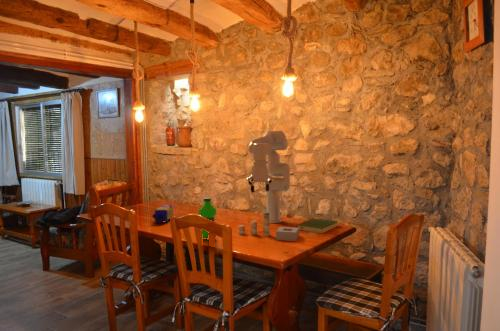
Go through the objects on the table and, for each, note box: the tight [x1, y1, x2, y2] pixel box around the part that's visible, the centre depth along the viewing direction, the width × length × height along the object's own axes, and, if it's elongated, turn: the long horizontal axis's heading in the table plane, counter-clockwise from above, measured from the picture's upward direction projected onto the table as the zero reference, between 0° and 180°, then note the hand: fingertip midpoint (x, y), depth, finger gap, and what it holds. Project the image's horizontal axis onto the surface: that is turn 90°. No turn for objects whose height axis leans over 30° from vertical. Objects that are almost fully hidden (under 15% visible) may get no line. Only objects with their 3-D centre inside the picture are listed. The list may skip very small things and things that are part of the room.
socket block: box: [275, 226, 300, 242], centre depth 226 cm, size 12×12×5 cm
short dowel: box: [238, 224, 246, 236], centre depth 237 cm, size 4×4×5 cm
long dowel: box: [262, 211, 271, 237], centre depth 232 cm, size 4×4×14 cm
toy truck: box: [152, 204, 174, 224], centre depth 278 cm, size 10×25×10 cm, turn 179°
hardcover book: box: [295, 217, 339, 234], centre depth 250 cm, size 25×19×4 cm
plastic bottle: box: [198, 197, 217, 239], centre depth 224 cm, size 10×10×25 cm
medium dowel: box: [250, 220, 258, 236], centre depth 235 cm, size 4×4×8 cm
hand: (259, 191), depth 227 cm, fingers open, 9 cm apart
